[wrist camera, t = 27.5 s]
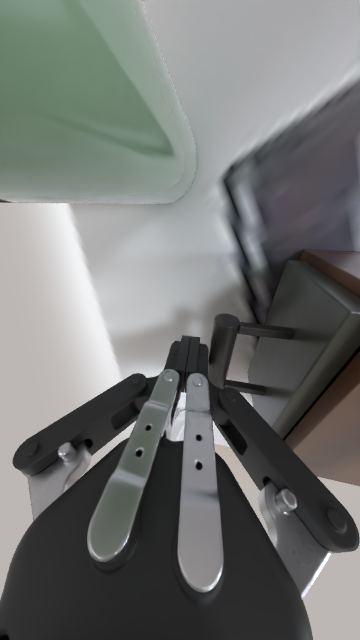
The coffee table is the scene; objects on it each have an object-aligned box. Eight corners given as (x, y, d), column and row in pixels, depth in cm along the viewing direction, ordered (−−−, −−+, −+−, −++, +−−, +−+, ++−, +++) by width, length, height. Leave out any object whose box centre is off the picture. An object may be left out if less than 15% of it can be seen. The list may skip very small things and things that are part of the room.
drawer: (205, 365, 20) (199, 433, 14) (220, 255, 13) (220, 299, 7) (384, 392, 17) (471, 491, 11) (527, 272, 10) (953, 367, 4)
